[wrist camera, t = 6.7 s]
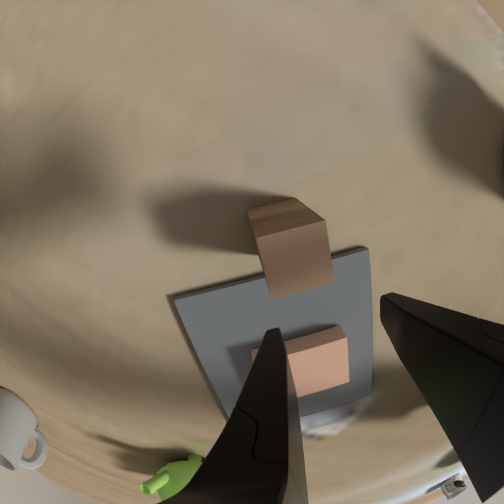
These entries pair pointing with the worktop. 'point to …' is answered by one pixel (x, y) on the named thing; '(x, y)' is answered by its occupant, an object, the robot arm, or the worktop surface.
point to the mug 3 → (453, 486)
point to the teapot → (172, 477)
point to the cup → (19, 433)
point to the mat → (283, 328)
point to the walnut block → (291, 247)
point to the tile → (317, 360)
